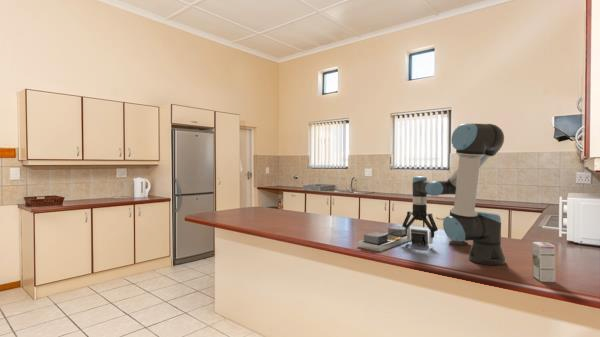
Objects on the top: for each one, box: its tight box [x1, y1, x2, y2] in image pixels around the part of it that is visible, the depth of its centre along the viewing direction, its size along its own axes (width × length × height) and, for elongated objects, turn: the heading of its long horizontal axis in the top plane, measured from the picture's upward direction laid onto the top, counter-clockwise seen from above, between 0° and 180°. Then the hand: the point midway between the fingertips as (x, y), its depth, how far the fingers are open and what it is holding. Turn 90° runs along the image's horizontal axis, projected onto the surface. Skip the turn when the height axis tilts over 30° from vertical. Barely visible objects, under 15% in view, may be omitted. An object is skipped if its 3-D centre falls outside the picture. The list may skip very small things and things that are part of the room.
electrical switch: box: [410, 228, 429, 248], centre depth 187 cm, size 9×5×9 cm, turn 57°
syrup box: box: [532, 241, 556, 283], centre depth 132 cm, size 6×6×14 cm
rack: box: [357, 225, 411, 252], centre depth 193 cm, size 14×40×7 cm, turn 135°
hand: (419, 241), depth 187 cm, fingers open, 12 cm apart
